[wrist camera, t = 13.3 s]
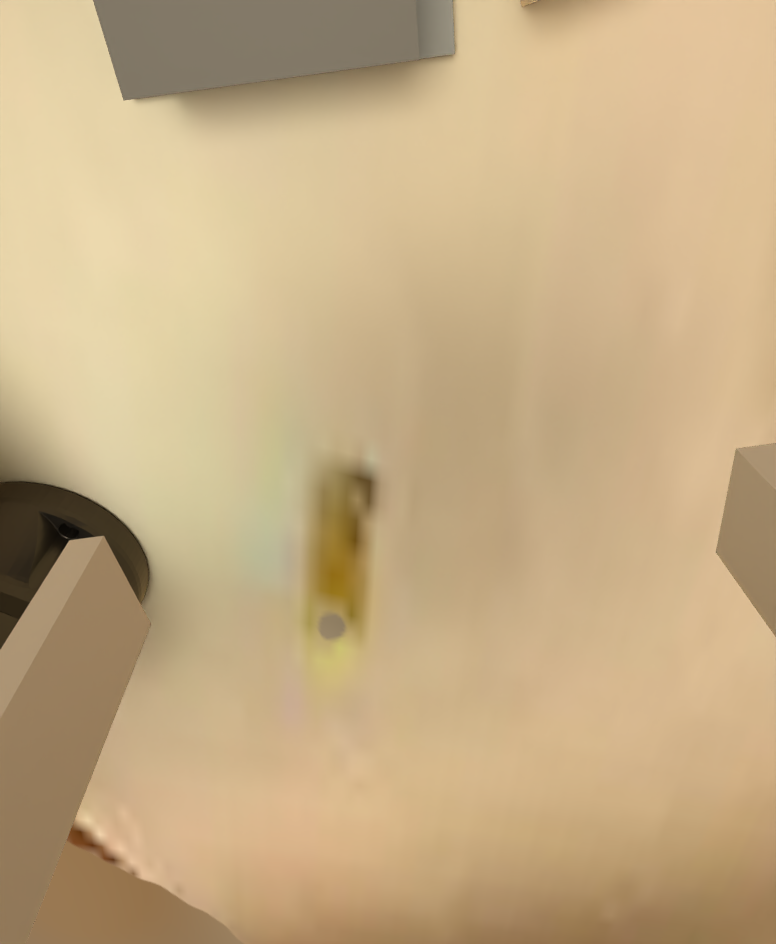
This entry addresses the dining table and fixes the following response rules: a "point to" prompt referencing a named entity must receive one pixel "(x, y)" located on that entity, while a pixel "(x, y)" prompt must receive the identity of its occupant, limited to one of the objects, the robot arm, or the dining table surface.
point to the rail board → (263, 39)
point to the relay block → (527, 2)
